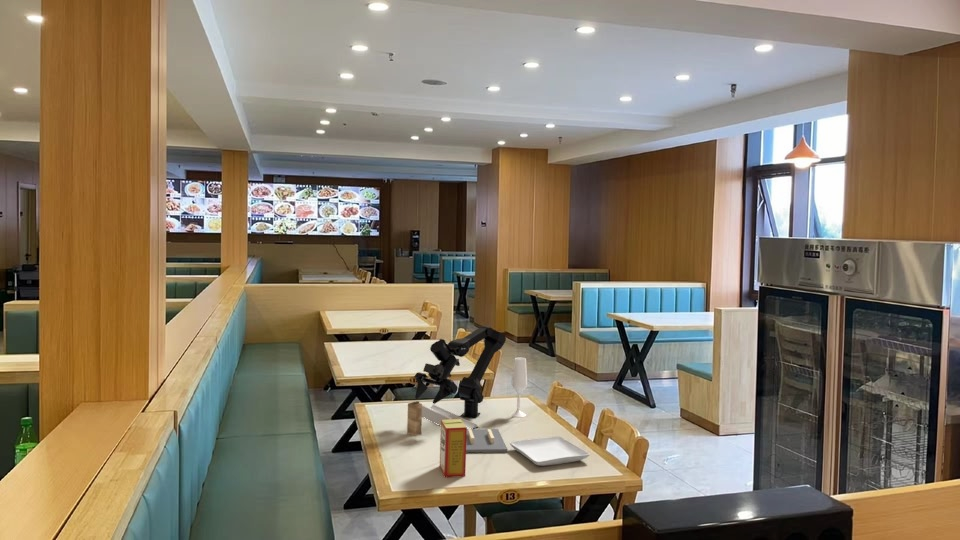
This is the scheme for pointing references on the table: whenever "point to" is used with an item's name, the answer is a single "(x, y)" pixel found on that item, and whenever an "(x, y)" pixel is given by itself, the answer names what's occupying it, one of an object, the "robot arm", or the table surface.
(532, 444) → the salad plate
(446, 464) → the baking soda box
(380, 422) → the table surface
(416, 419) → the wooden board
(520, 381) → the champagne flute
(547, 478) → the table surface
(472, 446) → the groove board
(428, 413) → the crown molding
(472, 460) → the table surface
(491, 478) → the table surface
